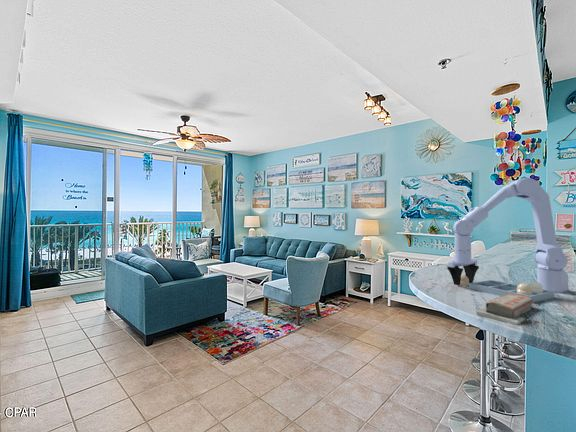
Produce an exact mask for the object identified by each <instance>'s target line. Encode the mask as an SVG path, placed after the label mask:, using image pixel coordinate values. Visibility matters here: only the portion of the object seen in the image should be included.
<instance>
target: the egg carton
mask: <svg viewBox="0 0 576 432" xmlns="http://www.w3.org/2000/svg"><path fill="white" fill-rule="evenodd" d="M518 285H519V284H516V283H510V282H505V281H504V282H503V281H500V280H495V279H494V280H493V279H491V280H490V279H489V280H482V281H475V282H473V283H469V286H468V287H469V289H470V290H473V291H478V292H483V293H487V294H491V295H494V296H498V297H501V296H504V295H506V294H515V295H521V296H527V297H529V298H531V299H532V300H533V301H532V304H533V303H537V302H542V301H545V300H547V301H548V300H550V299H554V298H555V292H553V291H548V290H543V293H537V292H532V295H530V296H529V295H524V294H520V293H517V286H518Z"/></svg>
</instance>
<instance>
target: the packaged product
mask: <svg viewBox="0 0 576 432" xmlns="http://www.w3.org/2000/svg"><path fill="white" fill-rule="evenodd" d="M532 301H533V300H532V299H531V298H529V297H527V296H521V295H515V294H506V295H504V296H498V297H496V298H494V299H490V300H488V301H487V302H485V307H483V308H479V309H476V311H475V312H476V315H477V316H480V317H483V318H487V319H492V320H496V321H500V322H504V323H508V324H512V325H515V326H517V325H520V324H522V322H525V321H526V320H529V318H530V317H526V316H522V315H525V314H526V313H528V312H529V311H531V309H532V306H533V303H532Z"/></svg>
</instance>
